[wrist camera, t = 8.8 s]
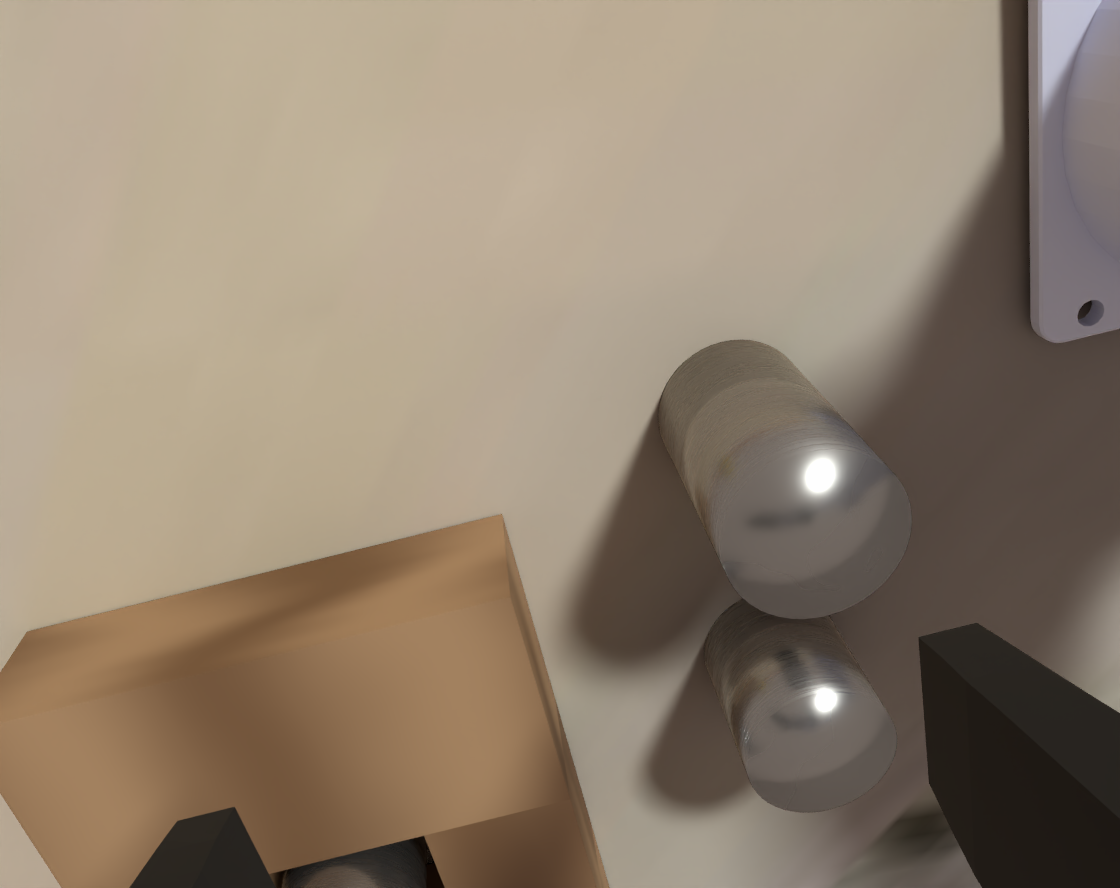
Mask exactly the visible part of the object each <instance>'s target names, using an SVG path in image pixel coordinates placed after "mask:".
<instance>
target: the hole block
mask: <svg viewBox="0 0 1120 888" xmlns="http://www.w3.org/2000/svg"><path fill="white" fill-rule="evenodd" d="M0 794H1V795H2V797H3V798H4V800H5V801H6V803H7V804H8V806H9V807H10V809H11V811H12V812H13V814H14V815H15V817H16V818H17V820H18V821H19V823H20V824H21V826H22V827H23V829H24V831H25V832H26V834H27V835H28V837H29V838H30V840H31V841H32V843H33V844H34V846H35V848H36V849H37V851H38V852H39V854H40V855H41V857H42V858H43V860H44V861H45V863H46V864H47V866H48V868H49V869H50V871H51V872H52V874H53V875H54V877H55V878H56V880H57V881H58V883H59V884H60V886H61V888H129V887H130V886H131V885H132V883H133V882H134V880H135V879H136V877H137V876H138V875H139V873H140V872H141V870H142V869H143V867H144V866H145V865H146V863H147V862H148V860H149V859H150V857H151V856H152V855H153V853H154V852H155V850H156V849H157V848H158V846H159V845H160V843H161V842H162V841H163V839H164V838H165V837H166V835H167V834H168V833H169V831H170V830H171V829H172V827H173V826H174V825H175V823H176V822H177V821H179V820H183V819H187V818H191V817H195V816H199V815H203V814H207V813H211V812H215V811H219V810H223V809H227V808H231V807H235V808H236V810H237V812H238V814H239V816H240V818H241V820H242V822H243V824H244V826H245V828H246V830H247V832H248V834H249V836H250V838H251V840H252V842H253V844H254V846H255V848H256V850H257V852H258V854H259V855H260V857H261V859H262V861H263V863H264V865H265V867H266V869H267V871H268V873H269V875H270V877H271V879H272V881H273V883H274V885H275V887H276V888H282V883H283V877H284V871H285V870H287V869H291V868H295V867H299V866H303V865H307V864H311V863H315V862H319V861H323V860H327V859H331V858H336V857H340V856H344V855H348V854H352V853H356V852H360V851H364V850H368V849H372V848H376V847H380V846H384V845H388V844H392V843H396V842H400V841H404V840H408V839H412V838H416V837H420V836H424V837H425V839H426V842H427V844H428V847H429V849H430V852H431V854H432V857H433V859H434V862H435V863H433V864H429V865H427V871H426V888H609V884H608V881H607V877H606V874H605V871H604V867H603V864H602V860H601V857H600V853H599V850H598V846H597V843H596V839H595V836H594V832H593V829H592V825H591V822H590V818H589V815H588V812H587V808H586V805H585V801H584V798H583V794H582V791H581V787H580V784H579V780H578V777H577V773H576V770H575V766H574V763H573V759H572V756H571V753H570V749H569V746H568V742H567V739H566V735H565V732H564V728H563V725H562V721H561V718H560V714H559V711H558V707H557V704H556V700H555V697H554V693H553V690H552V687H551V683H550V680H549V676H548V673H547V669H546V666H545V662H544V659H543V655H542V652H541V648H540V645H539V641H538V638H537V634H536V631H535V628H534V624H533V621H532V617H531V614H530V610H529V607H528V603H527V600H526V596H525V593H524V589H523V586H522V582H521V579H520V575H519V572H518V568H517V565H516V562H515V558H514V555H513V551H512V548H511V544H510V541H509V537H508V534H507V530H506V527H505V523H504V520H503V516H502V514H500V515H496V516H492V517H488V518H484V519H480V520H476V521H472V522H468V523H464V524H460V525H456V526H452V527H448V528H444V529H440V530H436V531H432V532H427V533H423V534H419V535H415V536H411V537H407V538H403V539H399V540H395V541H391V542H387V543H383V544H379V545H375V546H371V547H367V548H363V549H359V550H355V551H351V552H347V553H343V554H339V555H335V556H331V557H327V558H323V559H319V560H314V561H310V562H306V563H302V564H298V565H294V566H290V567H286V568H282V569H278V570H274V571H270V572H266V573H262V574H258V575H254V576H250V577H246V578H242V579H238V580H234V581H230V582H226V583H222V584H218V585H214V586H210V587H205V588H201V589H197V590H193V591H189V592H185V593H181V594H177V595H173V596H169V597H165V598H161V599H157V600H153V601H149V602H145V603H141V604H137V605H133V606H129V607H125V608H121V609H117V610H113V611H109V612H105V613H101V614H96V615H92V616H88V617H84V618H80V619H76V620H72V621H68V622H64V623H60V624H56V625H52V626H48V627H44V628H40V629H36V630H32V631H28V632H26V634H25V636H24V637H23V639H22V640H21V642H20V643H19V645H18V646H17V648H16V649H15V651H14V652H13V654H12V655H11V657H10V659H9V660H8V662H7V663H6V665H5V666H4V668H3V669H2V671H1V672H0Z"/></svg>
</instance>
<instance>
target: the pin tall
mask: <svg viewBox="0 0 1120 888" xmlns="http://www.w3.org/2000/svg"><path fill="white" fill-rule="evenodd" d="M426 871H427V842H426V839H425V837H424V836H420V837H416V838H412V839H408V840H404V841H400V842H396V843H392V844H388V845H384V846H380V847H376V848H372V849H368V850H364V851H360V852H356V853H352V854H348V855H344V856H340V857H336V858H331V859H327V860H323V861H319V862H315V863H311V864H307V865H303V866H299V867H295V868H291V869H287V870H285V871H284V877H283V883H282V888H426Z"/></svg>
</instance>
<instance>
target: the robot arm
mask: <svg viewBox="0 0 1120 888" xmlns="http://www.w3.org/2000/svg"><path fill="white" fill-rule="evenodd" d="M1028 48H1029V180H1030V313H1031V324H1032V329H1033V330H1034V331H1035V332H1036V333H1037V335H1039V336H1040V337H1042V338H1044V339H1045V340H1048V341H1050V342H1053V343H1064V342H1068V341H1072V340H1076V339H1080V338H1084V337H1088V336H1092V335H1097V334H1101V333H1105V332H1109V331H1113V330H1117V329H1120V0H1028ZM1090 300H1091V301H1092V306H1091V310H1090V312H1089V313H1088V314H1087V315H1086V316H1085V317H1083V318H1081V319H1079V320H1078V317H1077V316H1078V312H1079V309H1080V308H1081V307H1082V306H1083V304H1084V303H1086V302H1088V301H1090ZM919 650H920V664H921V678H922V692H923V706H924V720H925V733H926V747H927V761H928V775H929V784H930V786H931V788H932V790H933V792H934V794H935V796H936V798H937V800H938V802H939V805H940V807H941V809H942V811H943V813H944V815H945V817H946V819H947V821H948V823H949V825H950V827H951V829H952V831H953V834H954V836H955V838H956V839H957V841H958V843H959V845H960V847H961V849H962V851H963V853H964V855H965V857H966V859H967V861H968V863H969V865H970V867H971V869H972V871H973V873H974V875H975V877H976V878H977V880H978V882H979V883H980V885H981V886H982V888H1120V713H1119V712H1117V711H1115V710H1114V709H1112V708H1110V707H1109V706H1107V705H1106V704H1104V703H1102V702H1101V701H1099V700H1098V699H1096V698H1094V697H1093V696H1091V695H1090V694H1088V693H1086V692H1085V691H1083V690H1082V689H1080V688H1079V687H1077V686H1075V685H1074V684H1072V683H1071V682H1069V681H1067V680H1066V679H1064V678H1063V677H1061V676H1060V675H1058V674H1056V673H1055V672H1053V671H1052V670H1050V669H1049V668H1047V667H1045V666H1044V665H1042V664H1041V663H1039V662H1038V661H1036V660H1034V659H1033V658H1031V657H1030V656H1028V655H1027V654H1025V653H1023V652H1022V651H1020V650H1019V649H1017V648H1016V647H1014V646H1012V645H1011V644H1009V643H1008V642H1006V641H1005V640H1003V639H1001V638H1000V637H998V636H997V635H995V634H993V633H992V632H990V631H989V630H987V629H986V628H984V627H982V626H981V625H979V624H978V623H974V624H970V625H966V626H962V627H958V628H954V629H950V630H946V631H942V632H938V633H934V634H930V635H926V636H922V637H919ZM129 888H276V887H275V885H274V883H273V881H272V879H271V877H270V875H269V873H268V871H267V869H266V867H265V865H264V863H263V861H262V859H261V857H260V855H259V854H258V852H257V850H256V848H255V846H254V844H253V842H252V840H251V838H250V836H249V834H248V832H247V830H246V828H245V826H244V824H243V822H242V820H241V818H240V816H239V814H238V812H237V810H236V808H235V807H231V808H227V809H223V810H219V811H215V812H211V813H207V814H203V815H199V816H195V817H191V818H187V819H183V820H179V821H177V822H176V823H175V825H174V826H173V827H172V829H171V830H170V831H169V833H168V834H167V835H166V837H165V838H164V839H163V841H162V842H161V843H160V845H159V846H158V848H157V849H156V850H155V852H154V853H153V855H152V856H151V857H150V859H149V860H148V862H147V863H146V865H145V866H144V867H143V869H142V870H141V872H140V873H139V875H138V876H137V877H136V879H135V880H134V882H133V883H132V885H131V886H130V887H129Z"/></svg>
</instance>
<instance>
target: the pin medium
mask: <svg viewBox="0 0 1120 888" xmlns="http://www.w3.org/2000/svg"><path fill="white" fill-rule="evenodd" d="M658 422H659V430H660V433H661V437H662V440H663V442H664V444H665V446H666V448H667V450H668V453H669V455H670V457H671V459H672V461H673V463H674V465H675V467H676V469H677V472H678V474H679V476H680V478H681V480H682V482H683V484H684V486H685V488H686V491H687V493H688V495H689V497H690V499H691V501H692V503H693V505H694V507H695V510H696V512H697V514H698V516H699V518H700V520H701V522H702V524H703V526H704V528H705V531H706V533H707V535H708V537H709V539H710V541H711V543H712V545H713V547H714V550H715V552H716V554H717V556H718V558H719V560H720V562H721V564H722V566H723V569H724V571H725V573H726V575H727V577H728V579H729V581H730V583H731V584H732V586H733V587H734V589H735V590H736V591H737V593H738V594H739V595H740V596H741V597H742V598H743V599H744V600H746V601H747V602H748V603H749V604H751V605H752V606H754V607H755V608H757V609H759V610H761V611H763V612H766V613H768V614H771V615H775V616H778V617H783V618H790V619H810V618H818V617H823V616H828V615H831V614H834V613H838V612H840V611H843V610H845V609H847V608H850V607H852V606H854V605H855V604H857V603H859V602H861V601H862V600H864V599H865V598H867V597H868V596H870V595H871V594H872V593H874V592H875V591H876V590H877V589H878V588H879V587H881V586H882V585H883V583H884V582H885V581H886V580H887V579H888V578H889V577H890V576H891V574H892V573H893V572H894V570H895V569H896V568H897V566H898V564H899V563H900V561H901V559H902V558H903V555H904V553H905V551H906V548H907V546H908V542H909V539H910V534H911V528H912V512H911V505H910V502H909V498H908V495H907V493H906V491H905V489H904V487H903V485H902V483H901V482H900V481H899V479H898V478H897V477H896V475H895V474H894V473H893V472H892V471H891V470H890V469H889V468H888V467H887V466H886V465H885V463H884V462H883V461H882V460H881V459H880V458H879V457H878V456H877V455H876V454H875V453H874V451H873V450H872V449H871V448H870V447H869V446H868V445H867V444H866V443H865V442H864V441H863V439H862V438H861V437H860V436H859V435H858V434H857V433H856V432H855V431H854V430H853V429H852V427H851V426H850V425H849V424H848V423H847V422H846V421H845V420H844V419H843V418H842V417H841V415H840V414H839V413H838V412H837V411H836V410H835V409H834V408H833V407H832V406H831V405H830V404H829V402H828V401H827V400H826V399H825V398H824V397H823V396H822V395H821V394H820V393H819V392H818V390H817V389H816V388H815V387H814V386H813V385H812V384H811V383H810V382H809V381H808V380H807V378H806V377H805V376H804V375H803V374H802V373H801V372H800V371H799V370H798V369H797V368H796V366H795V365H794V364H793V363H792V362H791V361H790V360H789V359H788V358H787V357H786V356H785V355H784V354H782V353H781V352H779V351H778V350H777V349H775V348H773V347H771V346H769V345H766V344H763V343H760V342H756V341H751V340H730V341H725V342H720V343H717V344H714V345H711V346H709V347H706V348H704V349H702V350H700V351H699V352H697V353H695V354H694V355H692V356H691V357H690V358H688V359H687V360H686V361H685V362H684V363H683V364H682V365H681V366H680V367H679V368H678V369H677V370H676V371H675V372H674V374H673V375H672V376H671V378H670V380H669V381H668V383H667V385H666V387H665V389H664V391H663V394H662V397H661V400H660V405H659V411H658Z"/></svg>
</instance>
